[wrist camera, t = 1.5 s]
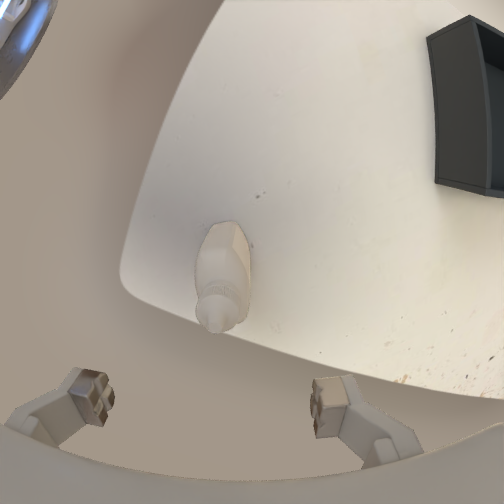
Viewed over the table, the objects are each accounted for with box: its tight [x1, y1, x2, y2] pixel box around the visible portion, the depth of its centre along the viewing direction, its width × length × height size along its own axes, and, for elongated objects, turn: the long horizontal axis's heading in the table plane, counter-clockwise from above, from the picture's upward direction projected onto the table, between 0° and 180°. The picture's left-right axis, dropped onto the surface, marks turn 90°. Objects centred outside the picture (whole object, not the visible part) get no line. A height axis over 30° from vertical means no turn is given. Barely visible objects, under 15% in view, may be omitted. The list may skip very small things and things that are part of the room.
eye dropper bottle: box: [195, 221, 251, 334], centre depth 20 cm, size 4×6×12 cm
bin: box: [426, 15, 504, 198], centre depth 18 cm, size 15×13×8 cm
